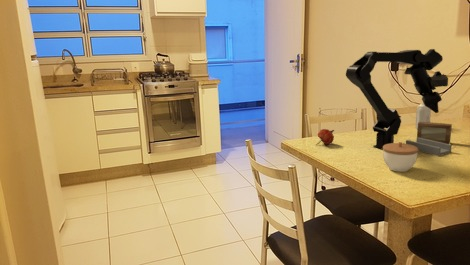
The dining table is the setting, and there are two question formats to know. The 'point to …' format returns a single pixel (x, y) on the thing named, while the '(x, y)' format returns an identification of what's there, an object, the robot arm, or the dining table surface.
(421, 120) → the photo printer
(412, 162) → the lidded jar
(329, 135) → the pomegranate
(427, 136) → the brown flat block
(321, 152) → the dining table surface
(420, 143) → the display ledge
